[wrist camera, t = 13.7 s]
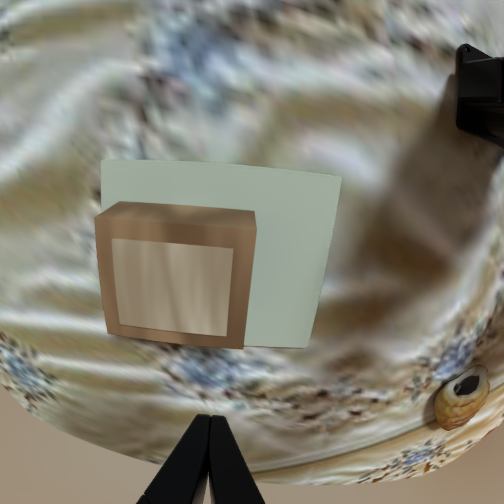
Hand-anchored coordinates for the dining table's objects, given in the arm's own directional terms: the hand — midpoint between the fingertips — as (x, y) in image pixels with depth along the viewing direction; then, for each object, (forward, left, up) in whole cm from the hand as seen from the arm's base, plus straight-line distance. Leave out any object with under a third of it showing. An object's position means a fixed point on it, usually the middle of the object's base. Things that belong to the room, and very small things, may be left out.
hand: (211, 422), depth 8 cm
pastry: (-26, +14, -12) cm, 32 cm away
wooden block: (-1, 0, -10) cm, 10 cm away
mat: (+1, 0, -12) cm, 12 cm away
